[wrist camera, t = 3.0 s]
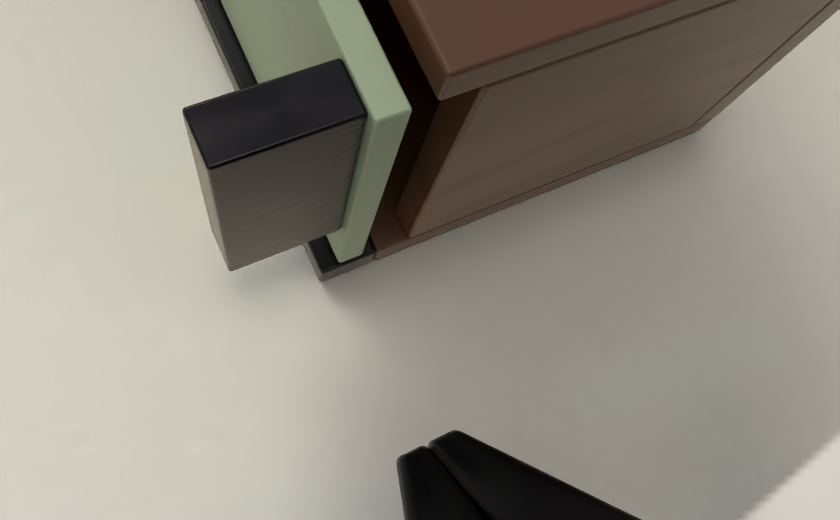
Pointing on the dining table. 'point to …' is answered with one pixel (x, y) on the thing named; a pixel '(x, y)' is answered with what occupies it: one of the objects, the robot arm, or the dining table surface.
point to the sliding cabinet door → (299, 131)
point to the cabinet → (542, 94)
